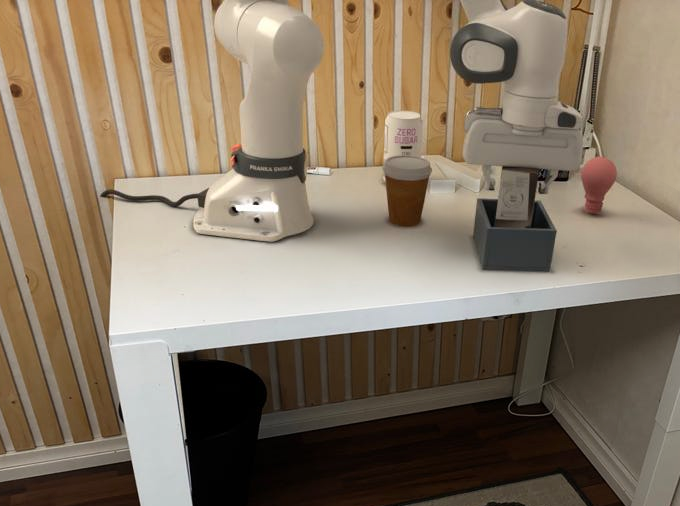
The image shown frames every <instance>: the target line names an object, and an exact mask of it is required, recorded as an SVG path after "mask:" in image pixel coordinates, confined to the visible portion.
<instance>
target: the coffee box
mask: <svg viewBox="0 0 680 506" xmlns="http://www.w3.org/2000/svg"><path fill="white" fill-rule="evenodd" d="M500 172H501V173H500V180H499V187H498V196H497V199H498V203H497V211H496V219H495V226H494V227H505V228H531V222H532V215H533V209H534V202H535V200H536V195H537V190H538V188H537V187H538V183H539V182H538V180H539V173H540V169H536V168H519V167H504V166H501V171H500Z"/></svg>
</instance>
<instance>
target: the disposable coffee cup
mask: <svg viewBox="0 0 680 506" xmlns="http://www.w3.org/2000/svg"><path fill="white" fill-rule="evenodd" d="M382 170H383V171H384V173H385V180H386V182H385V191H386V200H387V201H386V202H387V213H388V214H387V215H388V222H389V223H390V224H391V225H393V226H395V227H400V228H413V227H416V226H419V225H420V224H421V221H422V216H423V211H424V205H425V200H426V194H427V190H428V184H429V179H430V176H431V175H432V173H433V168H432V167H431V161H429V160H428V159H426V158H424V157H422V156H421V157H417V156H411V155H397V156H392V157H389V158H387V159H386V161H385V164H384V163H383V165H382Z"/></svg>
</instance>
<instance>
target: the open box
mask: <svg viewBox="0 0 680 506" xmlns="http://www.w3.org/2000/svg"><path fill="white" fill-rule="evenodd" d="M497 203H498V198H482V197H481V198H480V197H479V198H478V197H477V198H476V204H475V205H476V206H475V215H474V225H473V233H472V234H473V235H472V239H473V242H474V245H475V248H476V252H477V256H478V259H479V263H480V267H481V270H482V271H507V272H508V271H509V272H511V271H512V272H539V273H540V272H546V273H550V272H551V267H552V263H553V255H554V249H555V244H556V238H557V232H558V231H557V229H556V227H555V225H554V222H553V221H552V219H551V217H550V215H549V214H548V211H547V210H546V207H545V206H544V203H543V202H542V200H537V199H535V202H534V209H533V215H532V222H531V228H505V227H494V226H495V219H496V211H497Z"/></svg>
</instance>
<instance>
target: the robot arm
mask: <svg viewBox="0 0 680 506" xmlns="http://www.w3.org/2000/svg"><path fill="white" fill-rule="evenodd" d="M289 1H290V0H223V1H222V3H221V4H220V5H219V7H218V8H217V10H216V11H215V15H214V18H213V19H214V21H213V27H214V33H215V36H216V38H217V40H218V42H219V43H220V45H221V46H222V47H223V48H224V50H225V51H227V53H229V55H231V56H232V57H233V58H234V59H236V60H237V61H239V62H242V63H244V64H246V65H248V69H249V76H248V84H247V89H246V93H245V95H244V98H242V100H241V102H240V104H239V108H238V113H239V128H240V138H241V139H240V140H241V142H240V143H236V144H234V145H233V147H232V149H231V154H230V160H231V162H230V163H231V167H232V168H231V169H230V170H229V171H227V172H226V173H225V174H224V175H222V176H221V177H219V178H218V179H217V180H216V181H214V182H213V183H212V184H211V185H210V186H209V187H208V188H205V189H204V190H202V191H200V192H198V193H191V194H186V195H184V196H182V197H181V198H179V199H178V200H176V201H172V200H171V199H169V198H168V197H165V196H163V195H157V194H150V195H130V194H126V193H124V192H121V191H119V190H115V189H113V188H112V189H111V188H110V189H106V190H104V191H102V192H101V193H100V195H99V197H100V198H106V197H107V196H108V195H114V196H117V197H119V198H122V199H124V200H127V201H133V202H144V201H145V202H146V201H159V202H160V201H161V202H164V203H165V204H167V205H168V206H170V207H173V208H175V207H180V206H181V205H182V204H184V203H185V202H187V201H190V200H196V199H197V205H198V208H200V209H198V211H197V212H196V213H195V215H194V217H193V221H192V222H193V223H192V224H193V227H192V228H193V230H194V231H195V232H196V233H197V234H199V235H207V236H216V237H224V238H235V239H242V240H251V241H253V240H254V241H260V242H269V243H270V242H271V243H272V242H277V241H280V240H282V239H284V238H286V237H289V236H295V235H298V234H301V233H304V232H306V231H307V230H310V229H311V227H312V226H313V225H314V223H315V222H314V221H315V220H314V218H313V215H312V211H311V208H310V203H309V199H308V193H307V185H306V180H307V177H308V167H307V166H308V165H307V163H308V162H307V154H306V150H305V148H304V133H303V132H304V131H303V130H304V124H303V122H304V119H303V118H304V117H303V115H304V114H303V112H304V103H305V98H306V97H305V96H306V92H307V87H308V84H309V80H310V78H311V75H312V74H313V73H314V72H315V71H316V70H317V69H318V68H319V66H320V65H321V62H322V60H323V57H324V53H325V39H324V36H323V32H322V31H321V28H320V27H319V25H317V23H316V22H315V21H314V20H313V19H311V18H310V17H309V16H308V15H307V14H306V13H304V12H303V11H301V10H300V9H298V7H297V8H296V7H294V6H291V5H289ZM459 1H460V4H461V6H462V8H463V11H464V13H465V16H466V18H467V22H468V23H467V24H465V25H463V26H462V27H460V29H459V30H458V31H457V32H456V33H455V34H454V36H453V38H452V40H451V43H450V48H449V58H450V63H451V66H452V68H453V70H454V72H455V73H456V74H457V75H458V77H460V78H461V79H462V80H464V81H465V82H467V83H470V84H476V85H477V84H478V85H485V84H495V83H502V84H504V89H503V90H504V91H503V97H502V104H501V107H483V106H475V107H474V108H472V109H470V110H468V112H467V113H466V114H465V116H464V123H463V128H464V132H465V135H464V141H463V145H462V152H461V153H462V158H463V161H464V162H465V163H466V164H467V165H475V166H476V165H477V166H480V168H481V171H482V173H483V176H484V178H485V184H484V186H485V187H484V188H485V191H491V192H492V191H493V192H494V191H495V190H496V189H495V188H496V187H495V186H496V179H495V178H494V177H490V175H489V172H491V170H492V169H491V168H492V167H502V166H504V167H519V168H536V169H539V170H547V173H548V175H547V177H545V179H544V180H543V181H541V180H540V181H539V182H538V186H537V187H538V188H537V193H538V194H539V195H548V194H549V190H550V186H551V185H552V183H554V181H555V180H556V178H558V176H559V171H565V172H575V171H577V170H578V169H579V168H580V167H581V164H582V160H583V154H584V153H583V152H584V136H583V133H582V132H581V130H580V128H582V125H583V116H582V115H581V113H580V112H579V111H578V110H577V109H576V108H574V107H573V106H571V105H568V104H565V103H564V102H561V101H559V100H558V99H559V90H560V89H559V79H560V75H561V73H562V71H563V68H564V64H565V58H566V52H567V51H566V50H567V42H568V20H567V17H566V15H565V13H564V12H563V11H562V10H561V9H560V7H557V6H555V5H553V4H550V3H547V2H545V1H541V0H521V1H520V2H519V3H518V4H516V5H515V6H513V7H511V8H508V7H507V6H506V5H505V3H504V1H503V0H459Z"/></svg>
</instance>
